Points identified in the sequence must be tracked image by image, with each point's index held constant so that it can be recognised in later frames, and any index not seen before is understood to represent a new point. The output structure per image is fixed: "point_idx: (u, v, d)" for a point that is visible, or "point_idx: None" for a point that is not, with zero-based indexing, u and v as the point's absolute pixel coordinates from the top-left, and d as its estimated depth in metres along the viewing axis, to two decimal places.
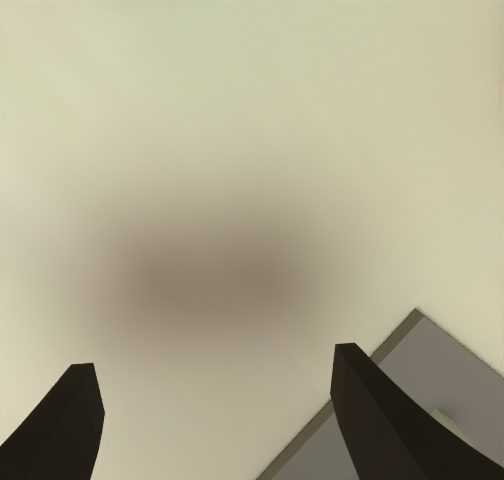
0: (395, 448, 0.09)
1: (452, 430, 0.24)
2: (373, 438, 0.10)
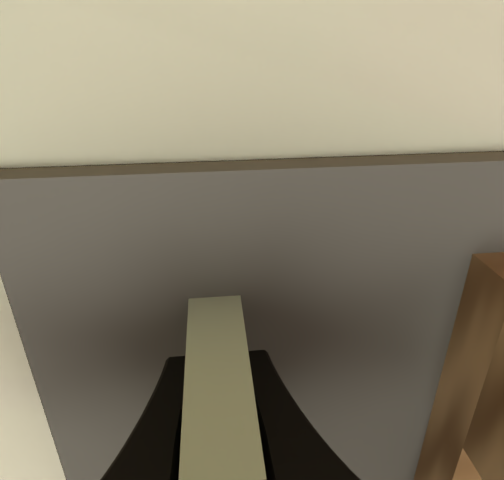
0: (269, 461, 0.09)
1: (187, 338, 0.11)
2: None
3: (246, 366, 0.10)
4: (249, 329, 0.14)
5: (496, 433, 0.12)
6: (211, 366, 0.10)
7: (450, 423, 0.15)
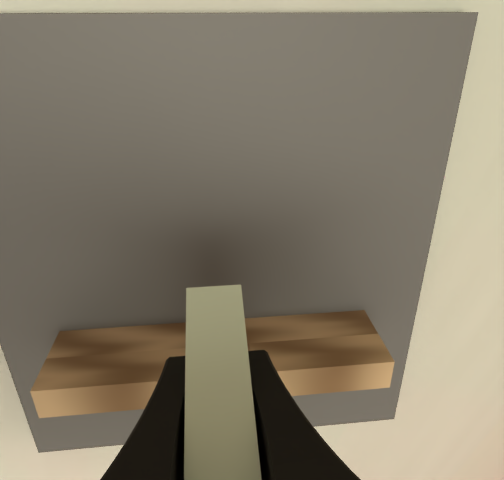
0: (269, 461, 0.09)
1: (186, 344, 0.11)
2: (261, 450, 0.10)
3: (247, 385, 0.10)
4: (332, 186, 0.19)
5: (293, 354, 0.19)
6: (212, 384, 0.10)
7: (251, 331, 0.21)
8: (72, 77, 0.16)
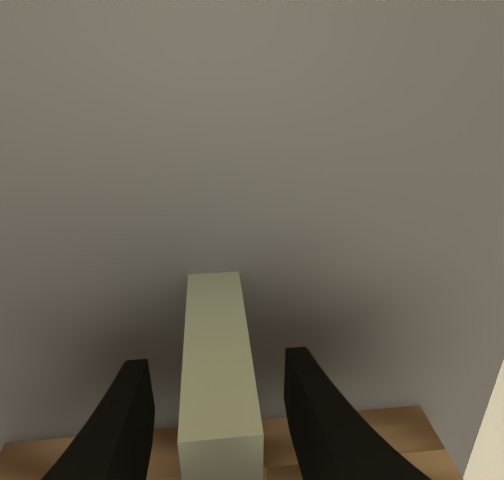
0: (326, 455, 0.09)
1: (186, 310, 0.11)
2: (312, 445, 0.10)
3: (244, 335, 0.10)
4: (388, 252, 0.13)
5: None
6: (210, 335, 0.10)
7: (268, 445, 0.15)
8: None
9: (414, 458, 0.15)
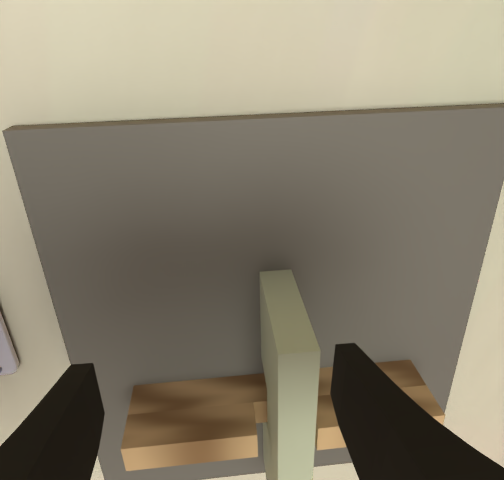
0: (395, 448, 0.09)
1: (264, 292, 0.19)
2: (372, 439, 0.10)
3: (301, 305, 0.18)
4: (385, 256, 0.21)
5: None
6: (282, 306, 0.18)
7: None
8: (159, 174, 0.18)
9: (405, 390, 0.22)
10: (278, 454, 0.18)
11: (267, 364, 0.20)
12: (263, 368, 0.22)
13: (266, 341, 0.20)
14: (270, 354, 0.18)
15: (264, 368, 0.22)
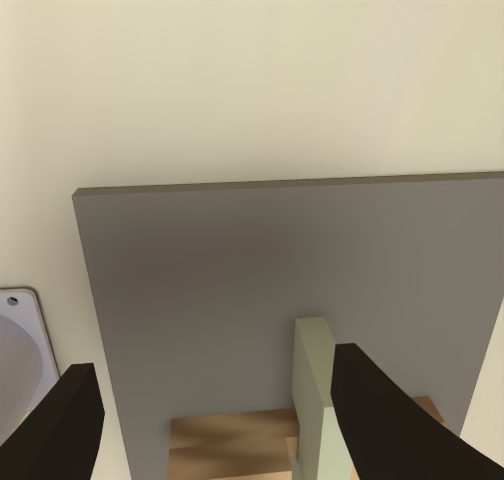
0: (395, 448, 0.09)
1: (303, 341, 0.21)
2: (372, 439, 0.10)
3: None
4: (411, 304, 0.23)
5: None
6: (321, 356, 0.20)
7: None
8: (211, 234, 0.20)
9: None
10: None
11: (303, 406, 0.21)
12: None
13: (303, 385, 0.21)
14: (309, 400, 0.20)
15: (296, 406, 0.23)
